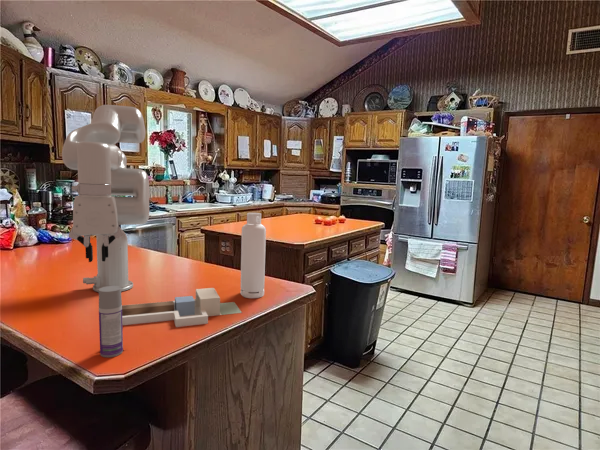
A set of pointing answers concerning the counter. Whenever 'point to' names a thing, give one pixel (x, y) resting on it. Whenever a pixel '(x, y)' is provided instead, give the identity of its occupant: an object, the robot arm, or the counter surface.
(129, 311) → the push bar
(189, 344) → the counter surface
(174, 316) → the lane
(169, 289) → the counter surface
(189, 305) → the block
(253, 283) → the bottle
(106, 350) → the container
